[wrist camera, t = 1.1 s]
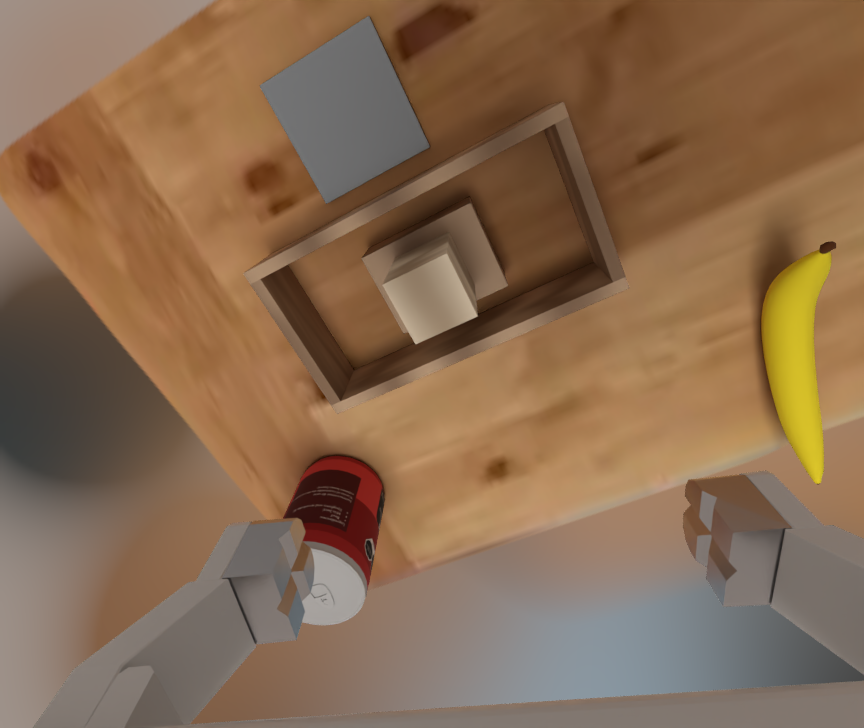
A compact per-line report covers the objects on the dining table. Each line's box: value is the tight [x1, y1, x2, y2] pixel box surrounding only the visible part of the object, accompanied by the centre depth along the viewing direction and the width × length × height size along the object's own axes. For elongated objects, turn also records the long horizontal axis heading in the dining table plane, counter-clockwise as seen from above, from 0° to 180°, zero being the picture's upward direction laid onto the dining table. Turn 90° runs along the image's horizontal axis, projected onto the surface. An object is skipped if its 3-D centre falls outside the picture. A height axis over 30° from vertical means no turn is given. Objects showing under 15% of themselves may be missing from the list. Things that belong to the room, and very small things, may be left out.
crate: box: [243, 102, 629, 414], centre depth 34 cm, size 22×12×5 cm, turn 117°
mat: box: [260, 16, 430, 204], centre depth 32 cm, size 8×8×1 cm
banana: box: [761, 241, 836, 484], centre depth 35 cm, size 3×19×6 cm, turn 19°
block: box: [382, 232, 478, 344], centre depth 31 cm, size 4×4×6 cm
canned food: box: [283, 456, 385, 625], centre depth 41 cm, size 8×8×11 cm
